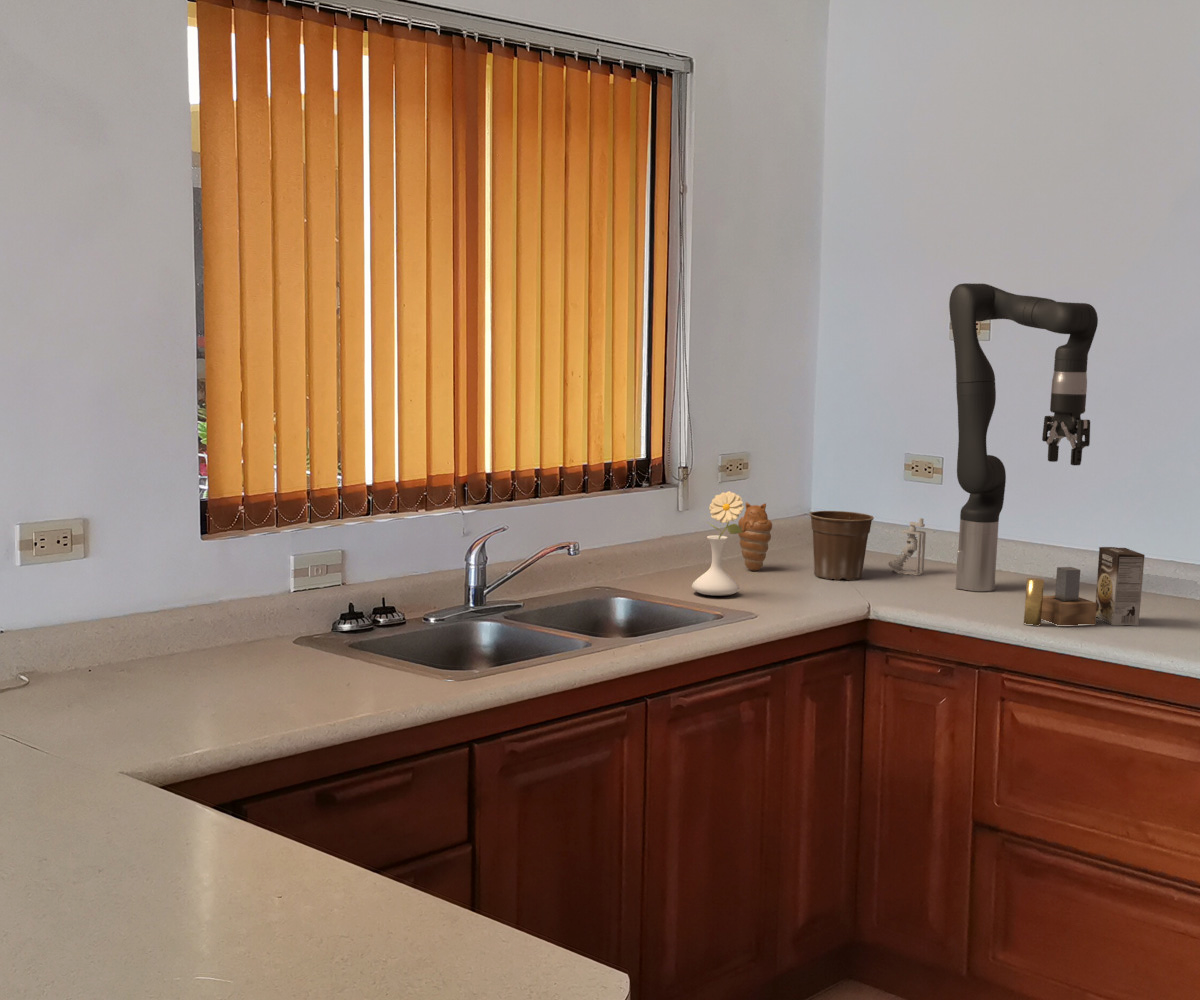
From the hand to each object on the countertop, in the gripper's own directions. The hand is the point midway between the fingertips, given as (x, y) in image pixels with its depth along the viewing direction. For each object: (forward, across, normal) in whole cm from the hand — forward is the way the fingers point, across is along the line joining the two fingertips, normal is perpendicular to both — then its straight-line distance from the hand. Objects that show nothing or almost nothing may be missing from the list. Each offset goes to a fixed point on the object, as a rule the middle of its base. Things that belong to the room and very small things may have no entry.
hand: (1063, 463), depth 300 cm
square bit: (+34, -11, +5) cm, 36 cm away
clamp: (+34, +49, +11) cm, 61 cm away
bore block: (+34, -11, +5) cm, 36 cm away
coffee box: (+34, -13, -7) cm, 37 cm away
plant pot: (+34, +47, +32) cm, 66 cm away
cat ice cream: (+34, +58, +51) cm, 84 cm away
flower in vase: (+34, +30, +71) cm, 85 cm away
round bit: (+34, -12, +14) cm, 39 cm away
